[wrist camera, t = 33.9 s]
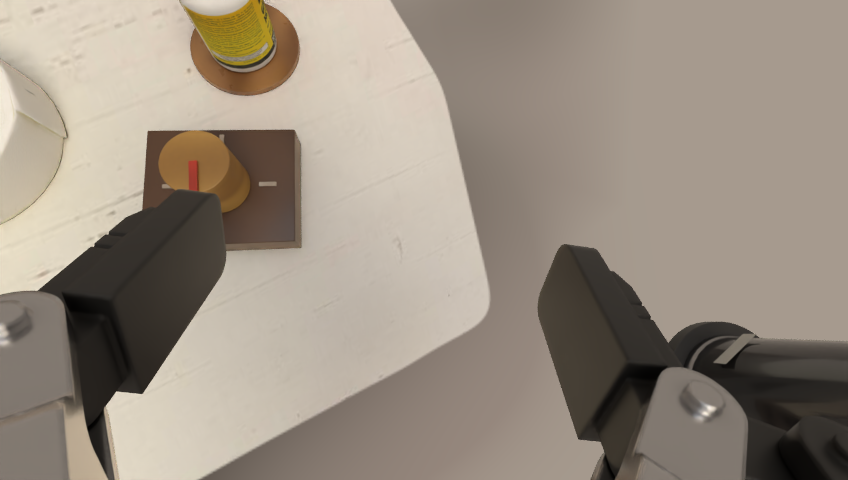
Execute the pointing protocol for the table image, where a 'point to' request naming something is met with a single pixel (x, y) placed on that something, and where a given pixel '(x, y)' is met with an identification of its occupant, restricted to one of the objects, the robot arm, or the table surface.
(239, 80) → the coaster
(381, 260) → the table surface
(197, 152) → the knob
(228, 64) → the pill bottle
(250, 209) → the panel
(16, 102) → the tape roll
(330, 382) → the table surface
